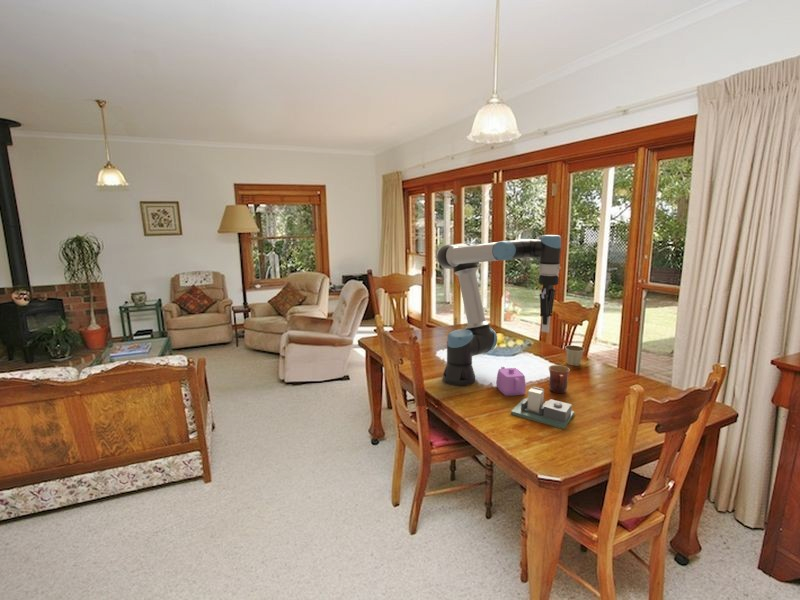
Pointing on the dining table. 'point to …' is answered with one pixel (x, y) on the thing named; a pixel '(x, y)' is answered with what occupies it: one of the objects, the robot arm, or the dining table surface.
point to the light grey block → (535, 399)
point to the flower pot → (574, 354)
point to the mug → (558, 378)
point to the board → (546, 413)
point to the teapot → (511, 381)
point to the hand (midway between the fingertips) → (545, 331)
